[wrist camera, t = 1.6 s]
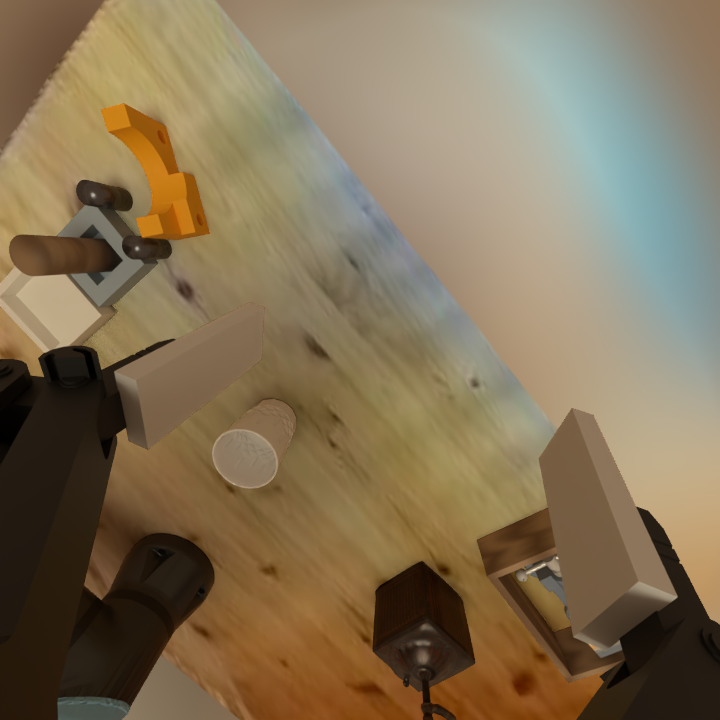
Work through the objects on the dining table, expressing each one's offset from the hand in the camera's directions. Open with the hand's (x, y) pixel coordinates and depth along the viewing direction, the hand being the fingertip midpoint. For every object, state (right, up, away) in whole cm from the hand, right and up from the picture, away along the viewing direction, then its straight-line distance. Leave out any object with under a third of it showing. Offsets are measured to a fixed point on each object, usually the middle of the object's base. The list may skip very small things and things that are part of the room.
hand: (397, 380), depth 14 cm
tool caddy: (+29, -31, +37) cm, 56 cm away
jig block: (-34, +14, +30) cm, 47 cm away
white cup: (-14, -8, +35) cm, 38 cm away
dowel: (-34, +14, +29) cm, 47 cm away
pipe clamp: (-23, +22, +27) cm, 42 cm away
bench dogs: (-29, +18, +28) cm, 44 cm away
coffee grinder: (+10, -39, +42) cm, 58 cm away
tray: (-42, +9, +33) cm, 54 cm away
